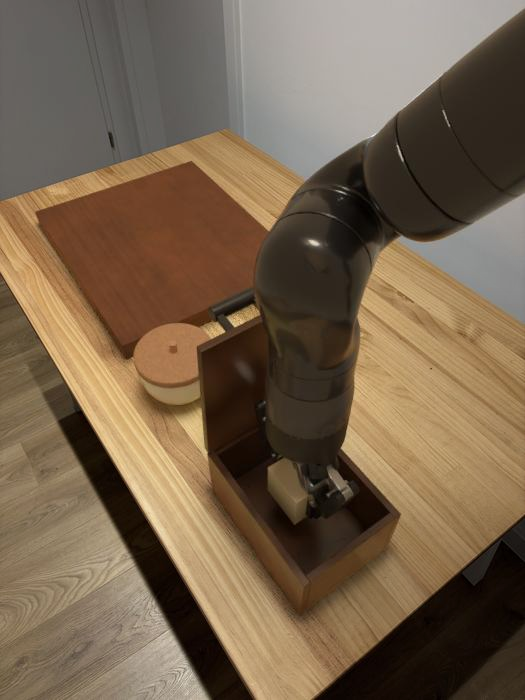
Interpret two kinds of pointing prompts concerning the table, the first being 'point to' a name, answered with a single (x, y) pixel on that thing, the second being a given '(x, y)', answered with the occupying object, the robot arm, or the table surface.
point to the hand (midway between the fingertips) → (299, 492)
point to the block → (287, 489)
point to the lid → (232, 372)
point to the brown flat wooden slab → (155, 250)
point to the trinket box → (170, 362)
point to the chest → (307, 535)
